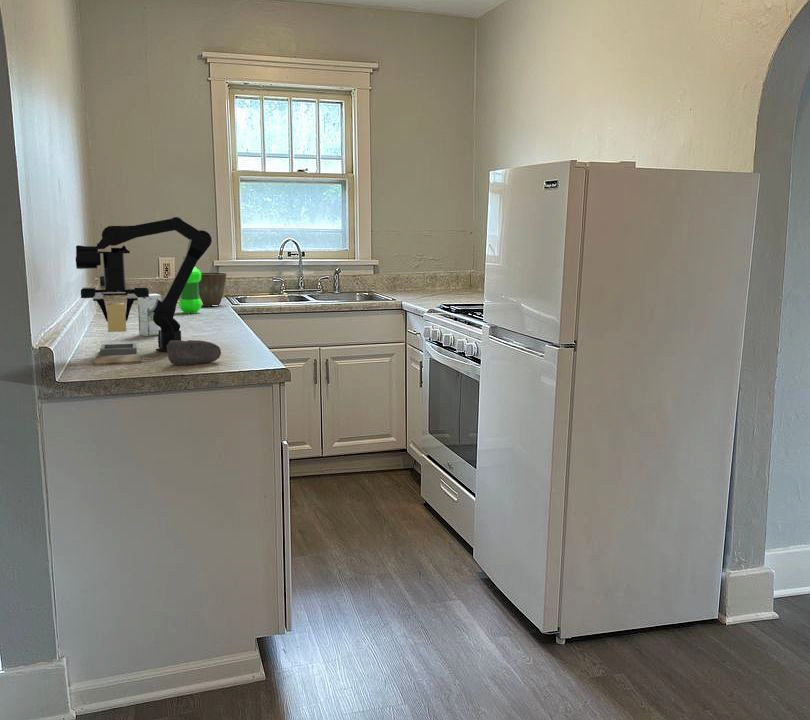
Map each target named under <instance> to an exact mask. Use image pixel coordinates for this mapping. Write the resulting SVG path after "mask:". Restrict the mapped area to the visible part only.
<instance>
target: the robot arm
mask: <svg viewBox="0 0 810 720" xmlns="http://www.w3.org/2000/svg"><path fill="white" fill-rule="evenodd" d="M173 231H175V232H176V233H179V234H180V235H181V236H183V237H184V238H186V239H187V240H189V241H188V244H187V248H186V252H185V256H184V257H185V258H184V260H182V261H181V264H180V266H179V268H178V270H177V272H176V274H175V275H174V277H173V280H172V282H171V284H170V285H169V288H168V290H167V292H166V294H165V295H164V297H163V298H161V300H159V299H158V298H157V300H156V303H155V306H154V307H153V308H152V309H151V310H152V318H153V321H154V323H155V324H156V325H158V326H160V328H161V329H162V330H158V332H159V335H157V338H158V339H157V341H158V343H157V344H158V345H157V346H158V348H155V351H158V352H166V353H167V352H168V351H167V348H166V346H167V345H168V343H169V341H172V340H180V341H182V330H180V328H181V324H180V323H179V322H178V321H177V320H176V319H175V318H174V317H175V313H176V309H177V304H178V302H179V300H180V298H181V293H182V291H183V289H184V287H185V285H186V283H187V281H188V279H189V277H190V275H191V273H192V271H193V269H194V267H196V265H197V263H198V261H199V260H200V259H201V257H203V255H205V253H206V251H208V249H209V247H210V246H211V245H212V237H211V235H210V233H209V232H208V231H206V230H203V229H200V230H199V229H198V228H196V227H194V226H192V225H190V224H189V223H187V222H186V221H184V220H183V219H182V218H181V217H179V216H175V217H171V218H167V219H163V220H162V219H161V220H156V221H150V222H146V223H141V224H136V225H109V226H106V227H105V228H104V229H103V230H102V232H101V239H100V240H99V242H97V243H96V245H95V246H94V245H92V246H91V245H81V244H80V245H78V244H77V245H76V246H75V253H76V254H75V266H76V270H94V269H95V270H96V269H98V266H102V261H103V275H101V276H99V284H100V285H99V286H100V288H101V289H97V288H96V287H95V286H91V287H90V286H89V287H88V286H86V287H85V286H84V287H82V288H81V289H80V299H92V301H93V302H97V304H98V306H99V307H100V309H101V311H102V314H103V316H104V318H105V321H106V322H107V323H108V318H107V304H106V299H105V298H106V297H104V296H126V297H127V298H126V305H125V311H126V322H128V319H129V316H130V311H131V308H132V307H133V304H134V302H135V301H138V297H149V294H150V293H149V292H150V291H149V288H148V287H147V286H134V288H130V289H129V288H128V289H127V288H126V287H127V286H126V285H127V284H126V274H125V273H126V272H125V271H126V270H125V256H124V255H125V254H130V253H131V251H130V250H129V249H128V248H127V246H125V244H123V243H125V242H130V241H131V240H134V239H137V238H140V237H146V236H147V237H148V236H151V235H157V234H162V233H167V232H173ZM121 244H123V245H122V246H121V247H114V246H118V245H121ZM111 246H113V247H111ZM108 247H111V248H110V250H107V251H106V250H105V249H106V248H108ZM99 250H100V251H99ZM104 250H105V251H104ZM101 255H102V259H103V260H102V259H101ZM103 288H104V289H103Z"/></svg>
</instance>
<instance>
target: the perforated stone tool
mask: <svg viewBox="0 0 810 720" xmlns="http://www.w3.org/2000/svg"><path fill="white" fill-rule="evenodd" d="M166 348H167V351H168V352H166V354H167V359H168V361H169V362H170V364H171V365H186V366H187V365H189V366H190V365H202V364H208V363H209V364H210V363H213V362H216V361H217V360H219V358H220V357H221V355H222V350H221V347H220V346H218V345H217V344H215V343H214V342H210V341H207V340H197V339H196V340H195V339H188V340H181V341H180V340H172V341H169V343H168V345H167V346H166Z"/></svg>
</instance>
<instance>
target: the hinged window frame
mask: <svg viewBox="0 0 810 720" xmlns="http://www.w3.org/2000/svg"><path fill="white" fill-rule="evenodd" d="M137 350H138V347H137V342H126V343H121V342H120V343H119V342H118V343H103V344H101V346H100V349H99V353H100V355H99V356H109V355H132V354H138V352H137Z"/></svg>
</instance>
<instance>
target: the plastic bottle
mask: <svg viewBox="0 0 810 720" xmlns="http://www.w3.org/2000/svg"><path fill="white" fill-rule="evenodd" d="M184 258H185V256H183V260H184ZM183 260H182V261H183ZM201 273H202V272H201V270H200V269H198V268H197V267H196V266H195V267H194V269H193V271H192V273H191V275H190V277H189V279H188V281H187V283H186V285H185V287H184V289H183V291H182V293H181V295H180V298H179V300H178V306H179V307H178V308H179V309H180V310H181V311H182V312H183V313H184V314H187V313H193V314H197V313H198V312H199V311H200V310H201V308H202V305H203V303H202V301H201V298H200V295H199V281H200V280H201ZM196 312H197V313H196Z"/></svg>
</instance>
